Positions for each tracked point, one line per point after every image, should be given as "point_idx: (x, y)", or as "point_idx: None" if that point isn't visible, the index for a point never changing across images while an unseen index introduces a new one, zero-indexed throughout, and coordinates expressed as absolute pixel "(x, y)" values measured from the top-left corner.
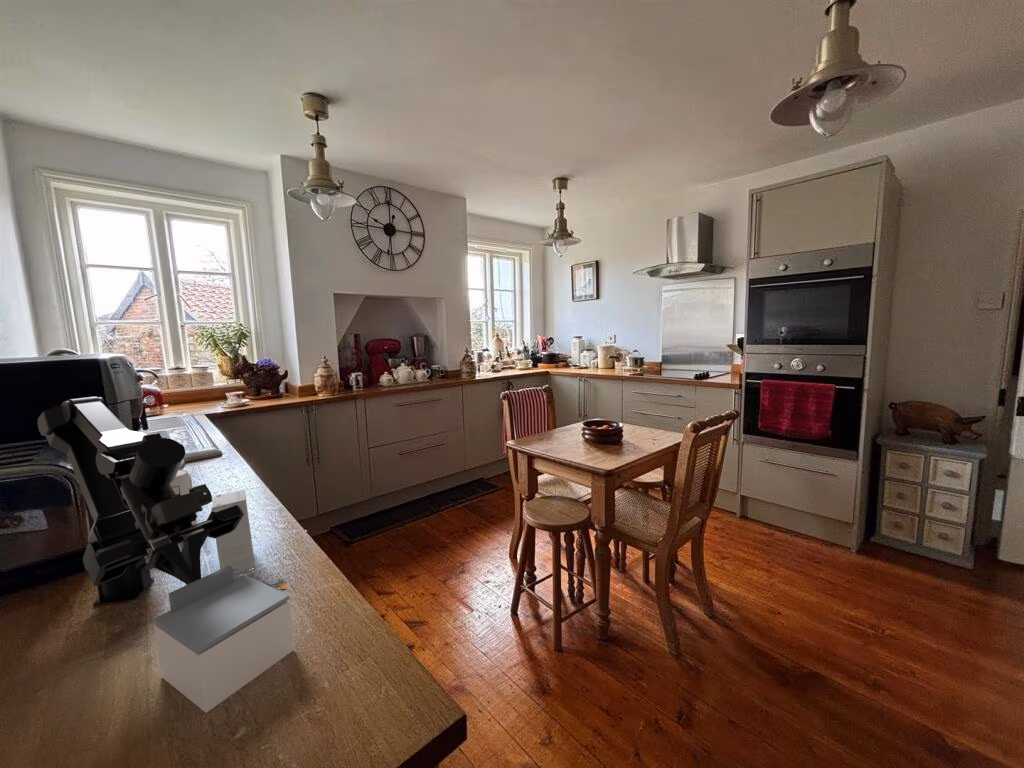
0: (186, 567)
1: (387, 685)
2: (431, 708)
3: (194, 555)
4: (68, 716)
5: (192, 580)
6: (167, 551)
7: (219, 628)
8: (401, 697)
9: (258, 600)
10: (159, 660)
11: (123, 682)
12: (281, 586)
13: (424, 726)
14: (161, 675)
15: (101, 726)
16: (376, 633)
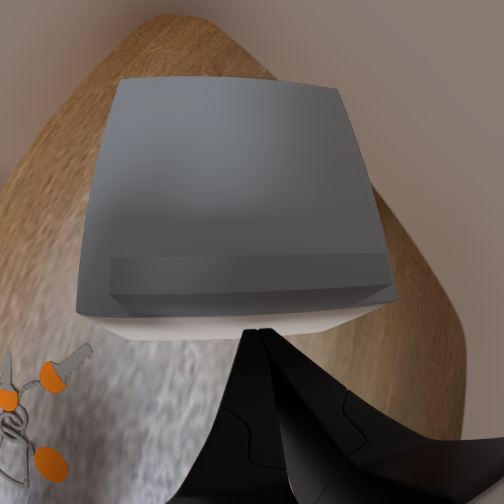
0: (313, 386)
1: (146, 50)
2: (155, 22)
3: (253, 437)
4: (426, 360)
5: (283, 339)
6: (478, 442)
7: (287, 99)
8: (154, 38)
9: (166, 113)
10: (336, 325)
11: (365, 381)
12: (12, 406)
13: (174, 19)
14: (321, 331)
15: (401, 290)
16: (68, 107)
